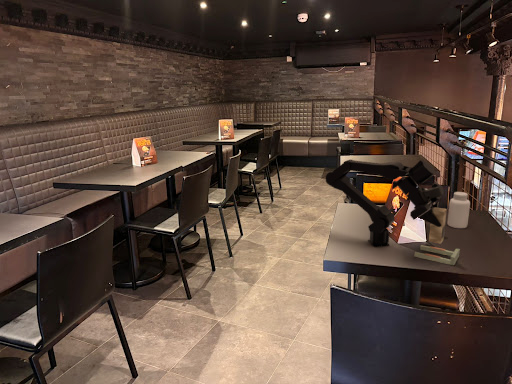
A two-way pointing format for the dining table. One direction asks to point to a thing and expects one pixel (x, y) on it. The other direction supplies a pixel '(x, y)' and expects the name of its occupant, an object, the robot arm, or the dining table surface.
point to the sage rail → (451, 261)
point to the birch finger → (438, 232)
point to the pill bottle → (458, 210)
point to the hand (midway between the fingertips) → (441, 224)
